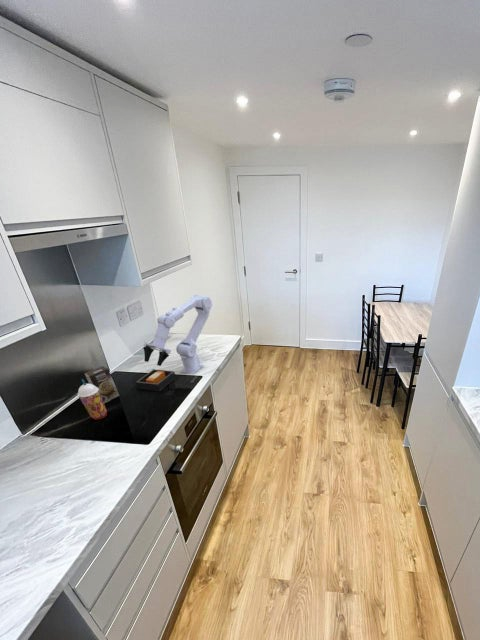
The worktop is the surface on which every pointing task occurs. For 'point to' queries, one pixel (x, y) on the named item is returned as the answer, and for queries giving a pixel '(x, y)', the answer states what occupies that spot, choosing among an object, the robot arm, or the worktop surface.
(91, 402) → the smoothie
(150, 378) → the snack box
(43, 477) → the worktop surface
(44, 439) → the worktop surface
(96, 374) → the coffee box
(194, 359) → the robot arm
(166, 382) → the dark grey tray
